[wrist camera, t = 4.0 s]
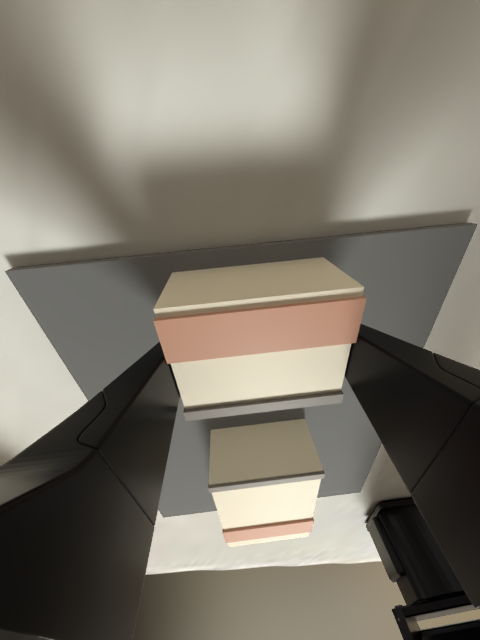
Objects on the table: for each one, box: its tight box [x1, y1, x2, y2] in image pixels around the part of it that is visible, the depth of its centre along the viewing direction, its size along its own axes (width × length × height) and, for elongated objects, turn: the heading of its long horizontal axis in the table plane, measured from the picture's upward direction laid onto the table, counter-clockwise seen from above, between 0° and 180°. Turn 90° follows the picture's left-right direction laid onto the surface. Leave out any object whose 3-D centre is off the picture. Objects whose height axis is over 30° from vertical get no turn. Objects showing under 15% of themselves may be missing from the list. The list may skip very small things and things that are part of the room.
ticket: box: [208, 419, 325, 547], centre depth 16 cm, size 6×10×3 cm, turn 4°
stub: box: [153, 257, 367, 421], centre depth 9 cm, size 6×5×3 cm
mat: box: [5, 223, 477, 517], centre depth 15 cm, size 18×23×1 cm
